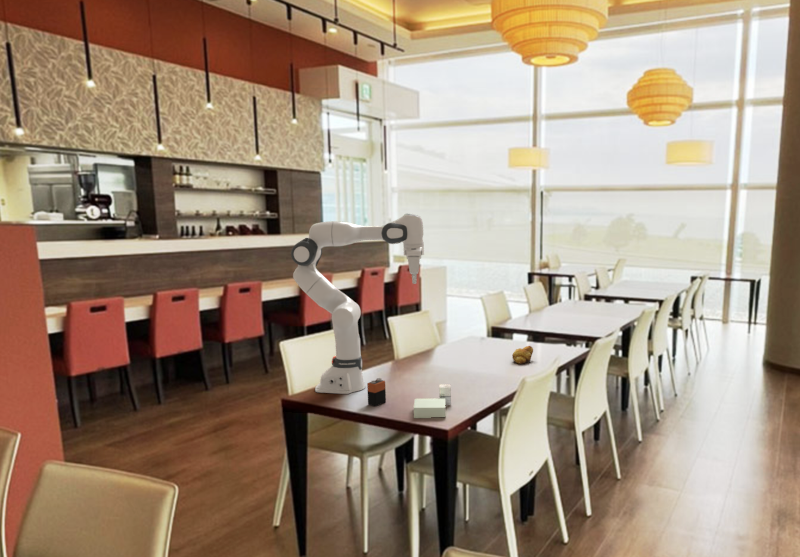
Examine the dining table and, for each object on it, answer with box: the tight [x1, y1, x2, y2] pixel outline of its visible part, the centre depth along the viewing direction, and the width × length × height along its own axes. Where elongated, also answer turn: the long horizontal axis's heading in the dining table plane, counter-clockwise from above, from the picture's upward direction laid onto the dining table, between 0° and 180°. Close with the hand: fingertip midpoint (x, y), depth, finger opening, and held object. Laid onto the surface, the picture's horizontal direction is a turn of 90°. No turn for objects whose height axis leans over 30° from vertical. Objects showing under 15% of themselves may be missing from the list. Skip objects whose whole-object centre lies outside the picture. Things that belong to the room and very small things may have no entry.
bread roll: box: [512, 345, 534, 365], centre depth 287 cm, size 13×10×8 cm
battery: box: [366, 377, 387, 407], centre depth 227 cm, size 4×7×10 cm, turn 140°
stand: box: [413, 397, 447, 419], centre depth 213 cm, size 12×11×4 cm
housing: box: [438, 383, 452, 406], centre depth 224 cm, size 5×5×8 cm
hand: (414, 282), depth 242 cm, fingers open, 8 cm apart
